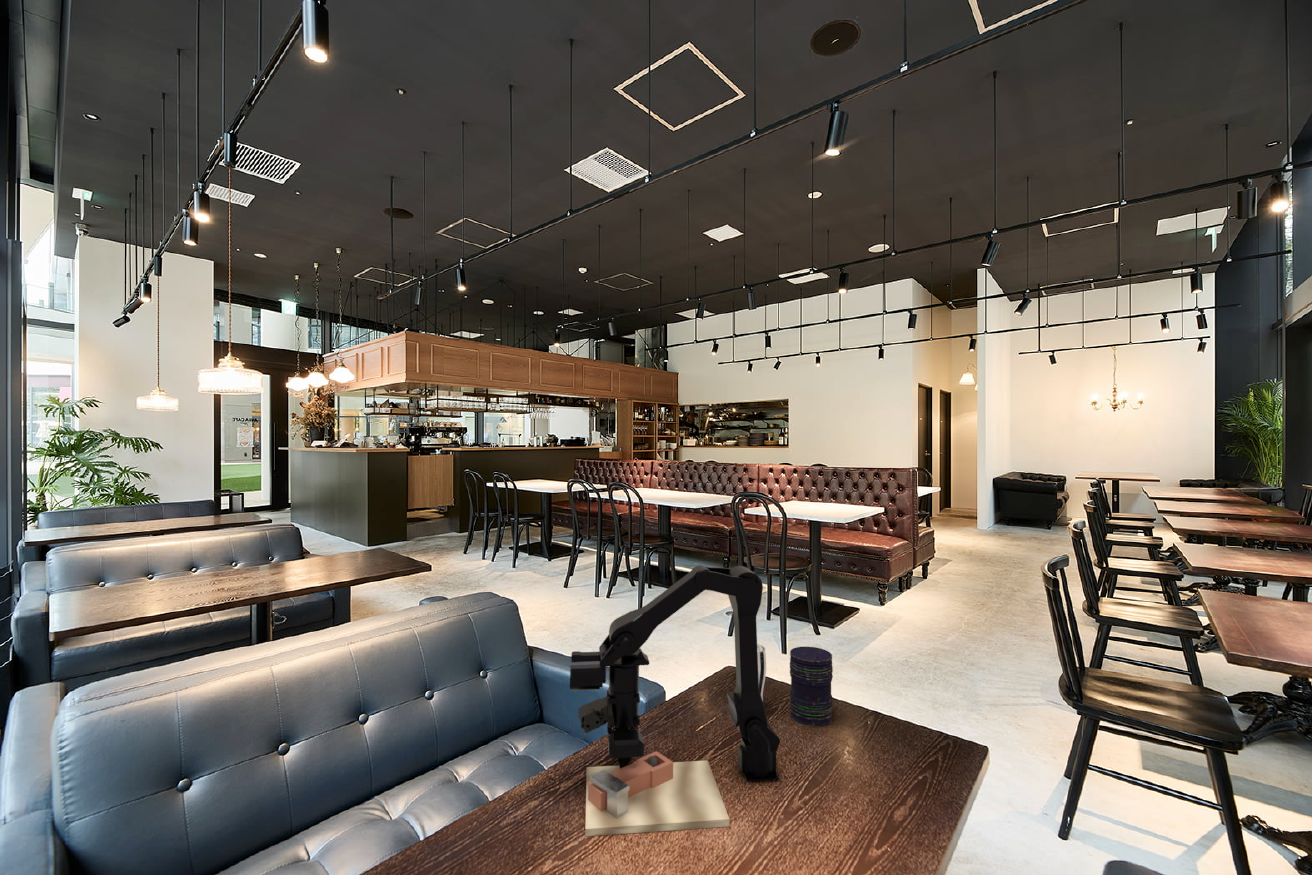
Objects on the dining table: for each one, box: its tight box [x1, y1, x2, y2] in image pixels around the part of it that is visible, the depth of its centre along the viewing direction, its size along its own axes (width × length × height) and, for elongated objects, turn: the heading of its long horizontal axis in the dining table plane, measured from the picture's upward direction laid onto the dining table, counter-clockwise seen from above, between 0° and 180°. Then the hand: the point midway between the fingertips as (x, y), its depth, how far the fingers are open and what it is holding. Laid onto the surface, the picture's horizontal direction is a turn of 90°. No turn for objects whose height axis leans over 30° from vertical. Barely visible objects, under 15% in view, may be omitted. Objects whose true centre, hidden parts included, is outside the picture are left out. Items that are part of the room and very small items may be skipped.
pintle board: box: [584, 756, 730, 837], centre depth 103 cm, size 24×18×4 cm
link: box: [588, 750, 673, 811], centre depth 104 cm, size 16×5×3 cm, turn 129°
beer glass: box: [757, 643, 767, 702], centre depth 138 cm, size 7×7×15 cm
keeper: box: [590, 770, 629, 818], centre depth 98 cm, size 3×7×4 cm, turn 46°
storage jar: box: [789, 646, 834, 728], centre depth 134 cm, size 10×10×15 cm
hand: (622, 769), depth 108 cm, fingers closed
